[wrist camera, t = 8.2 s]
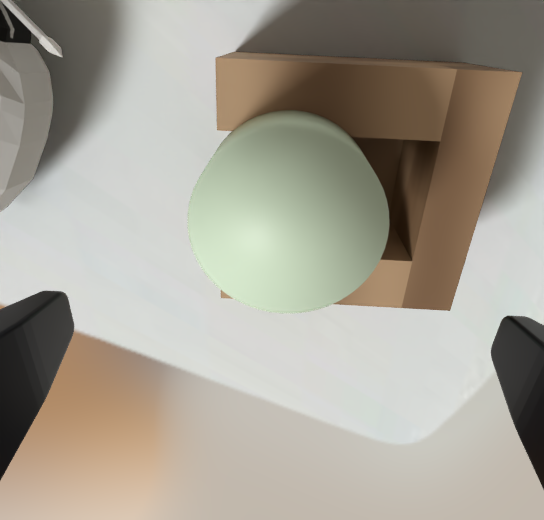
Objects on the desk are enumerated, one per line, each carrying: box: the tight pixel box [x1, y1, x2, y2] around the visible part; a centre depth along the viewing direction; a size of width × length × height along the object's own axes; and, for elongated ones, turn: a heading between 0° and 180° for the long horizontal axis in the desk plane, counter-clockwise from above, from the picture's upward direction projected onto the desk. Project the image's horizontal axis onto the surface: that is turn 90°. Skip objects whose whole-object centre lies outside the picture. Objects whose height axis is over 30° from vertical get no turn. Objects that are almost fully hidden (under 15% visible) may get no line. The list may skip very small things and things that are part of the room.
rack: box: [216, 52, 522, 311], centre depth 17 cm, size 10×9×5 cm
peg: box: [188, 110, 389, 313], centre depth 15 cm, size 6×6×6 cm
